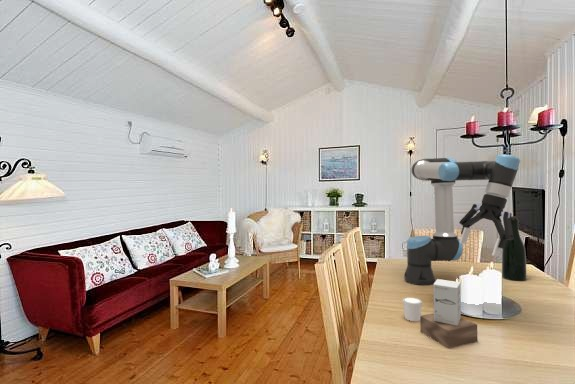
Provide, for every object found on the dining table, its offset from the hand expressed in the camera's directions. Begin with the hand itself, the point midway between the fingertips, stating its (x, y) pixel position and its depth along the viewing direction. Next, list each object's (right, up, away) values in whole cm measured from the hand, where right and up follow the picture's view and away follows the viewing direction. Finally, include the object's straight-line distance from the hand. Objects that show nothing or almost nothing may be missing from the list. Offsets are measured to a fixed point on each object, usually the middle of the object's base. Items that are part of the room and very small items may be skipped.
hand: (477, 249), depth 118 cm
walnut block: (-19, -27, -14) cm, 36 cm away
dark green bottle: (+48, -24, +46) cm, 71 cm away
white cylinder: (-25, -27, 0) cm, 36 cm away
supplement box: (-19, -21, -14) cm, 32 cm away
